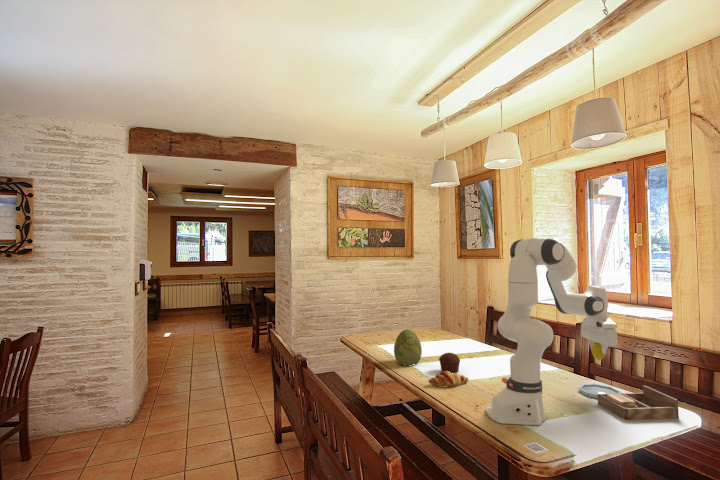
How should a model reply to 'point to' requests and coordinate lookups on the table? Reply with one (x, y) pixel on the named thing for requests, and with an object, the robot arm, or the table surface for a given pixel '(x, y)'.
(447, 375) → the croissant
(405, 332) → the decorative sculpture
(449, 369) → the muffin
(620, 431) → the table surface
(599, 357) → the lemon
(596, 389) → the plate
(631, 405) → the block
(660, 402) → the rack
